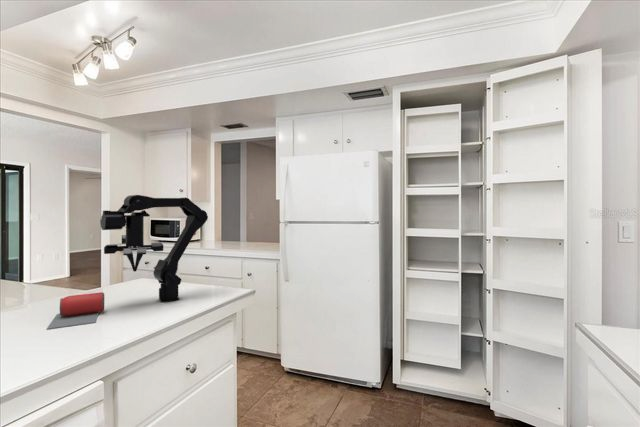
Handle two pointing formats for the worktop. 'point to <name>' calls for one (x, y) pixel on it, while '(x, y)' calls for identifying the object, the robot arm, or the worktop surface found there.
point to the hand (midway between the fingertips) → (134, 271)
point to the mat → (72, 320)
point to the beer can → (82, 304)
